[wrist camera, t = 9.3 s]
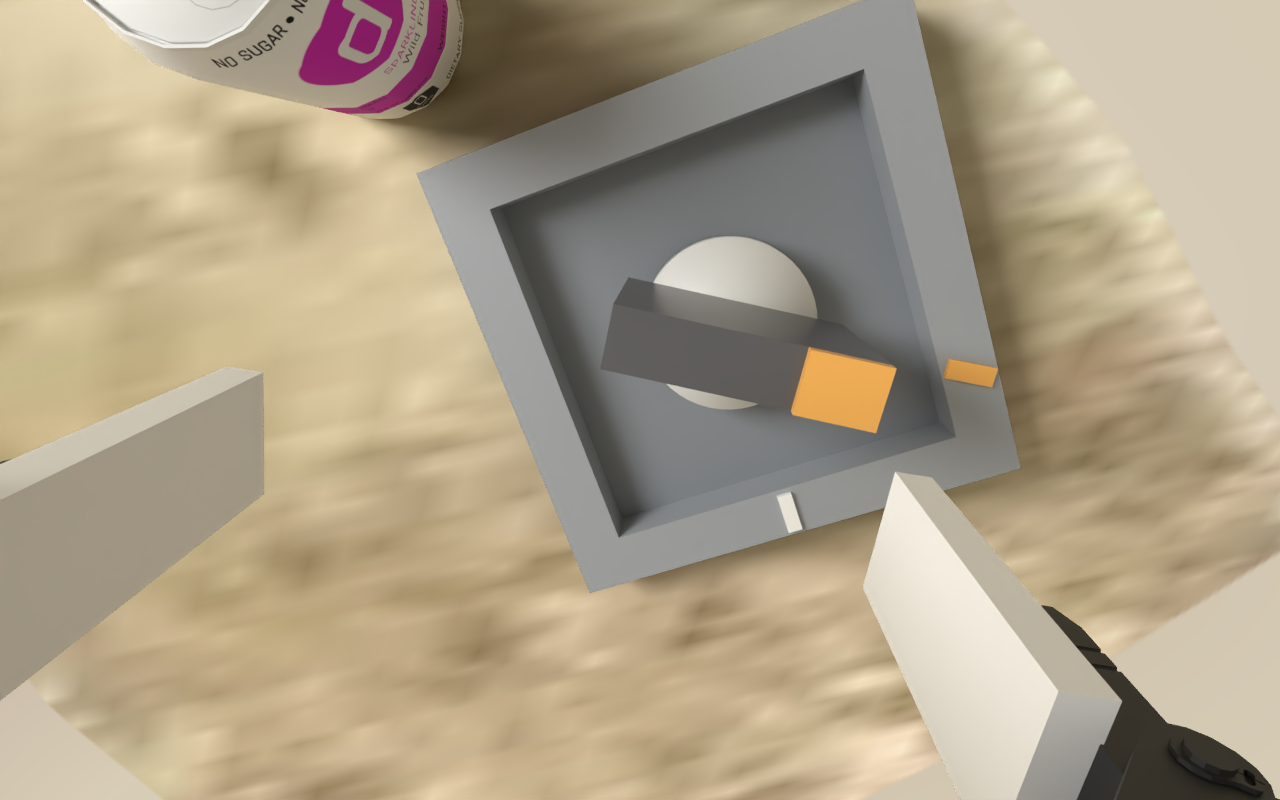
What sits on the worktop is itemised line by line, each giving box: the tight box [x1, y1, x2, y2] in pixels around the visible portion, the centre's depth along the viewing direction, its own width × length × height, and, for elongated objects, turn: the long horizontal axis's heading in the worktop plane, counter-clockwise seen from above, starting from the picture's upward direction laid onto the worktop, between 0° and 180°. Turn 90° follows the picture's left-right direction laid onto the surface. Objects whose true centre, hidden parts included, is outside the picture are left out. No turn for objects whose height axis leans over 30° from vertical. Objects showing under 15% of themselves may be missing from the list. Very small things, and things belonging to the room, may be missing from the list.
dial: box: [600, 235, 897, 433], centre depth 30 cm, size 10×8×10 cm
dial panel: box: [417, 0, 1021, 593], centre depth 35 cm, size 22×22×4 cm
